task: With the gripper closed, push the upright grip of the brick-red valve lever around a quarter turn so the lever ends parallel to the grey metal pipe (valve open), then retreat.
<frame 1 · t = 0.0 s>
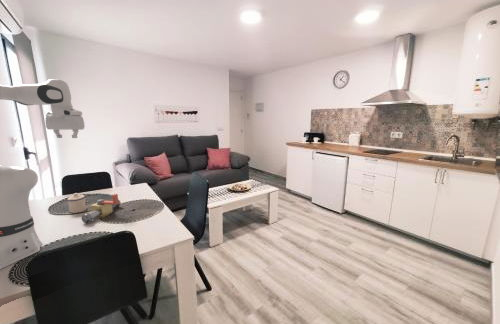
hand: (67, 138, 118), 48 cm above the table, fingers open, 8 cm apart
valve lever: (107, 198, 131), point 11 cm above the table, hinge at 0.0°
valve pipe: (103, 214, 134), on the table
teacup with lid: (77, 210, 141), on the table
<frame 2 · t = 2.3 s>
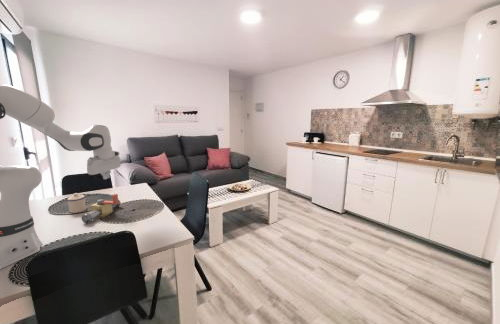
hand: (106, 178, 123), 25 cm above the table, fingers closed
nothing on the table moved.
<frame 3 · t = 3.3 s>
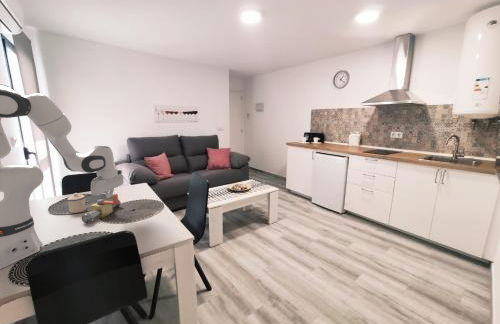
hand: (109, 197, 125), 14 cm above the table, fingers closed
nothing on the table moved.
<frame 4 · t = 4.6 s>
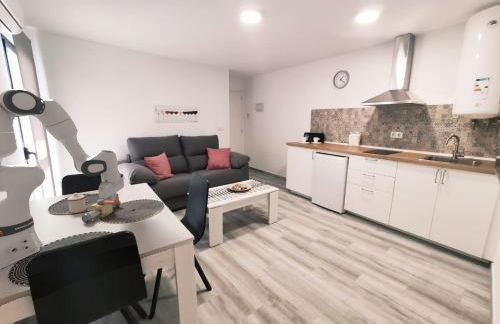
hand: (113, 200, 129), 11 cm above the table, fingers closed
valve lever: (107, 198, 132), point 11 cm above the table, hinge at 3.5°, touching gripper
everything else where it was.
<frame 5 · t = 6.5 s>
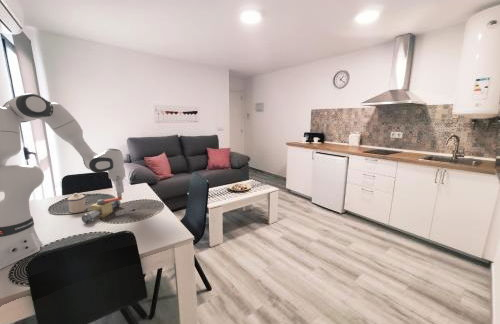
hand: (119, 196, 136), 11 cm above the table, fingers closed
valve lever: (109, 196, 135), point 11 cm above the table, hinge at 44.8°, touching gripper
everything else where it was.
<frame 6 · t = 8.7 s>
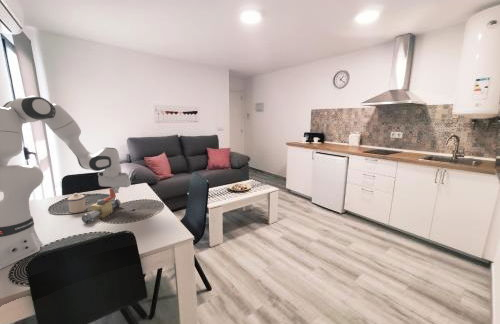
hand: (116, 192, 141), 11 cm above the table, fingers closed
valve lever: (106, 195, 136), point 11 cm above the table, hinge at 90.5°, touching gripper
everything else where it was.
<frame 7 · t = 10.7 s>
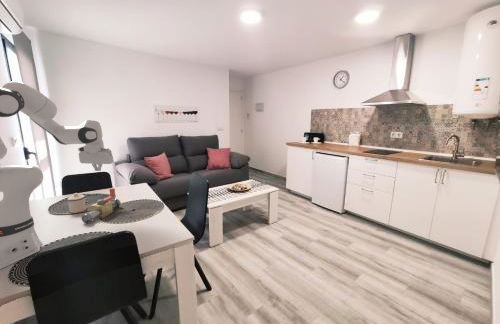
hand: (98, 170, 132), 27 cm above the table, fingers closed
valve lever: (106, 195, 136), point 11 cm above the table, hinge at 90.7°
everything else where it was.
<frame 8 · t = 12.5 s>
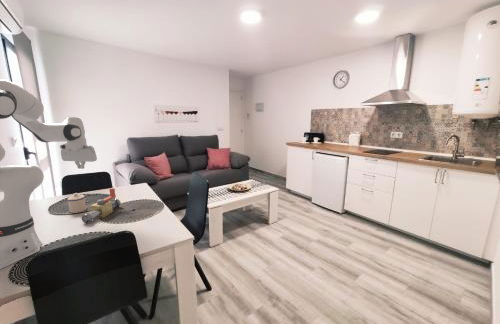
hand: (81, 168, 130), 29 cm above the table, fingers closed
nothing on the table moved.
at the end: valve lever at +91° (first picture: +0°); valve lever touching nothing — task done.
